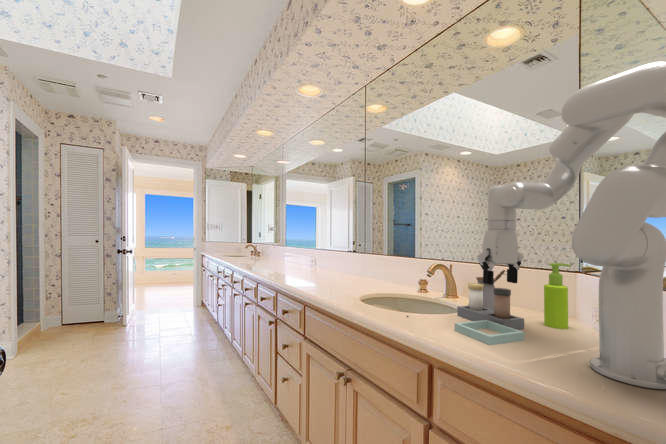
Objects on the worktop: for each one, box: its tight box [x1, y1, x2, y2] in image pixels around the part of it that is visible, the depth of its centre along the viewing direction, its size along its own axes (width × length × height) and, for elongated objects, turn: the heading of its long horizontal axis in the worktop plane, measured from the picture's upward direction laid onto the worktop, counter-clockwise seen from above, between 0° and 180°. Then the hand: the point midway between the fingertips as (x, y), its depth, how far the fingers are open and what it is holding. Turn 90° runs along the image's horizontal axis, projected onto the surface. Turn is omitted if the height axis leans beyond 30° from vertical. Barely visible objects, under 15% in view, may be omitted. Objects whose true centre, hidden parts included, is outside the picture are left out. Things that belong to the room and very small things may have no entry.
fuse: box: [467, 282, 484, 311], centre depth 102 cm, size 5×5×11 cm
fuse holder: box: [456, 305, 525, 331], centre depth 97 cm, size 18×8×4 cm, turn 21°
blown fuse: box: [493, 287, 512, 319], centre depth 92 cm, size 5×5×11 cm
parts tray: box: [454, 320, 526, 346], centre depth 84 cm, size 12×12×3 cm
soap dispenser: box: [543, 262, 572, 330], centre depth 94 cm, size 6×7×20 cm
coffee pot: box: [467, 269, 507, 310], centre depth 114 cm, size 21×12×15 cm, turn 128°
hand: (500, 283), depth 93 cm, fingers open, 9 cm apart
